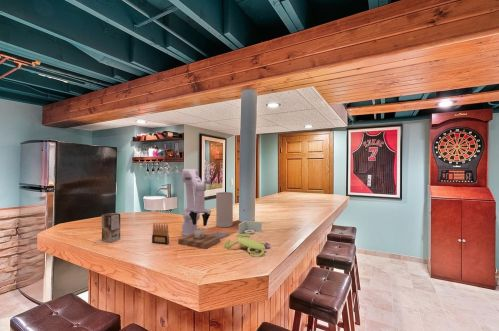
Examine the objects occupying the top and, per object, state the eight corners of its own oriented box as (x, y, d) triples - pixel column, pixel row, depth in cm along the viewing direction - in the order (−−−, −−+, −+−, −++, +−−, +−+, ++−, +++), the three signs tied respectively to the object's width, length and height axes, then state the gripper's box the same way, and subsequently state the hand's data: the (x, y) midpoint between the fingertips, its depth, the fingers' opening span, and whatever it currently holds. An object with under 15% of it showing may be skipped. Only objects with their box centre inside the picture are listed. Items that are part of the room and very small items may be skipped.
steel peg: (194, 243, 144) (194, 229, 144) (198, 241, 147) (198, 228, 147) (200, 244, 142) (200, 230, 142) (204, 242, 145) (204, 229, 145)
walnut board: (178, 243, 143) (178, 238, 143) (193, 237, 155) (193, 232, 155) (206, 249, 134) (206, 243, 134) (220, 241, 146) (220, 236, 146)
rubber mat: (208, 236, 157) (208, 235, 157) (217, 232, 166) (217, 231, 166) (221, 238, 153) (221, 237, 153) (229, 234, 162) (229, 233, 162)
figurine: (241, 240, 151) (241, 231, 151) (277, 249, 134) (277, 239, 134) (220, 247, 137) (220, 237, 137) (257, 259, 120) (257, 248, 120)
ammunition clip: (169, 243, 143) (169, 223, 143) (167, 244, 141) (167, 224, 141) (153, 242, 146) (153, 222, 146) (151, 243, 144) (151, 222, 144)
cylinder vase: (214, 227, 181) (214, 193, 181) (219, 223, 193) (219, 192, 193) (230, 228, 179) (230, 194, 179) (234, 224, 191) (234, 192, 191)
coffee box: (120, 239, 151) (120, 213, 151) (111, 242, 145) (111, 215, 145) (111, 237, 155) (111, 212, 155) (101, 240, 149) (101, 214, 149)
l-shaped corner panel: (238, 235, 162) (238, 224, 162) (245, 231, 173) (245, 220, 173) (255, 237, 158) (255, 225, 158) (261, 232, 169) (261, 221, 169)
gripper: (185, 202, 144) (185, 225, 144) (205, 203, 138) (205, 227, 138) (193, 201, 151) (193, 223, 150) (212, 202, 144) (212, 225, 144)
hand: (199, 225), depth 144 cm, fingers open, 7 cm apart
